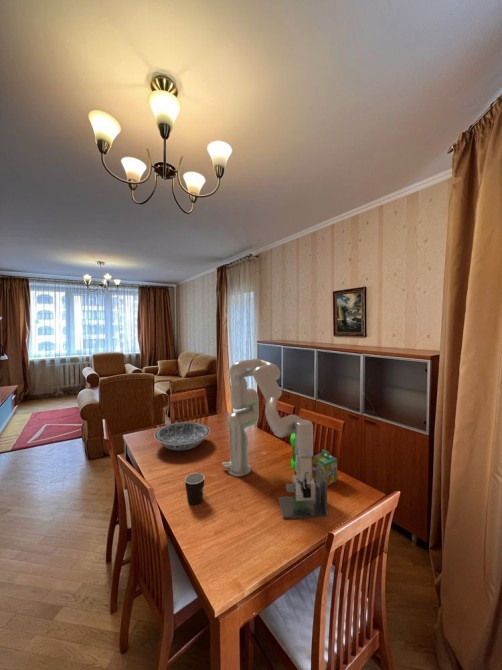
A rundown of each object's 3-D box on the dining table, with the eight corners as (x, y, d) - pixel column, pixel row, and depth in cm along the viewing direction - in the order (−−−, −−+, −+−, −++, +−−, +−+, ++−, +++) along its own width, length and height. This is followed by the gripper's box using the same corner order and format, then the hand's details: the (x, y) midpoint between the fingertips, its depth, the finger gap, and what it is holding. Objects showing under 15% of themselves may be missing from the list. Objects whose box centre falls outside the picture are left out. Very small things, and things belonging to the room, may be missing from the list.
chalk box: (310, 479, 134) (310, 450, 134) (322, 473, 140) (322, 445, 139) (325, 488, 127) (325, 457, 126) (337, 481, 132) (337, 451, 131)
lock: (295, 501, 110) (295, 484, 110) (292, 491, 116) (292, 475, 116) (315, 500, 110) (315, 483, 110) (310, 490, 117) (310, 474, 117)
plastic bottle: (309, 466, 146) (309, 421, 145) (309, 477, 135) (309, 428, 135) (291, 464, 148) (290, 420, 147) (289, 475, 138) (289, 427, 137)
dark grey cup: (195, 509, 113) (195, 486, 112) (181, 502, 117) (180, 480, 117) (213, 494, 123) (213, 473, 122) (199, 488, 127) (199, 467, 127)
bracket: (282, 518, 107) (282, 484, 106) (278, 499, 119) (278, 468, 118) (327, 516, 108) (327, 482, 107) (318, 497, 120) (318, 466, 119)
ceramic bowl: (182, 465, 148) (181, 447, 148) (142, 450, 166) (142, 434, 166) (220, 442, 178) (220, 427, 177) (183, 431, 196) (183, 418, 195)
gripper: (290, 441, 121) (290, 478, 122) (299, 460, 104) (299, 504, 104) (307, 440, 121) (307, 477, 122) (318, 460, 104) (318, 503, 105)
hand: (303, 489), depth 113 cm, fingers open, 9 cm apart
